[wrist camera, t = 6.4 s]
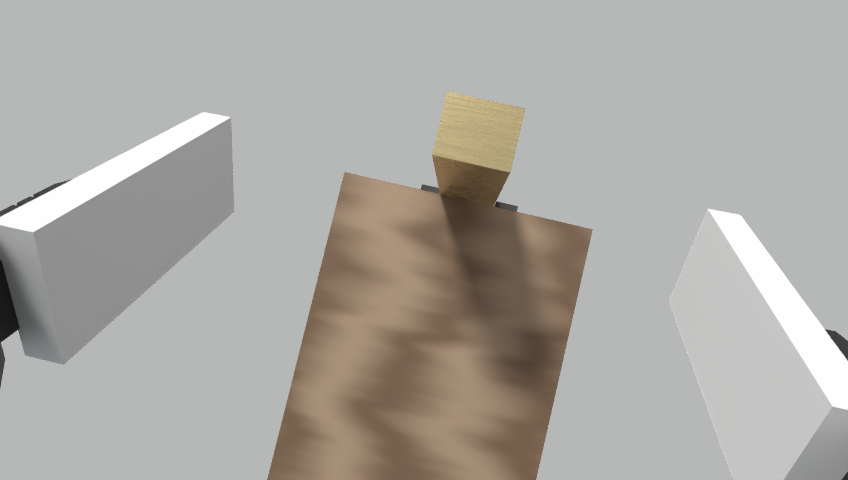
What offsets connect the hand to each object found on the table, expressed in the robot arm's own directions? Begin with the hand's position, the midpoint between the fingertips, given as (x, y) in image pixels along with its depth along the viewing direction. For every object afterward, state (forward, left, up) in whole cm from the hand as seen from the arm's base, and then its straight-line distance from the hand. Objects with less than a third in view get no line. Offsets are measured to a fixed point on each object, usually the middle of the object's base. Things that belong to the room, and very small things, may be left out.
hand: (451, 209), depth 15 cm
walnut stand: (0, -24, -33) cm, 41 cm away
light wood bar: (0, -20, +3) cm, 20 cm away
